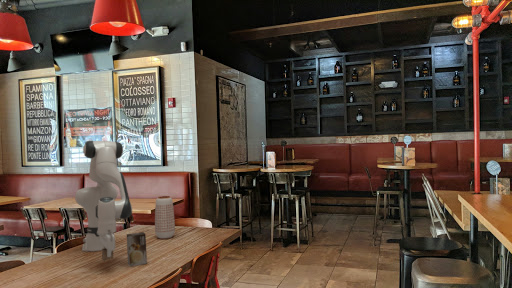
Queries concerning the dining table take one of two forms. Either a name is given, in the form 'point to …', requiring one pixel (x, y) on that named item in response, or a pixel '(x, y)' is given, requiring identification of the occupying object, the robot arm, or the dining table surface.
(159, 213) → the grey textured vase
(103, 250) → the walnut block
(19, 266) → the dining table surface
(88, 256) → the dining table surface
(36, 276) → the dining table surface
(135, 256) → the coffee box
